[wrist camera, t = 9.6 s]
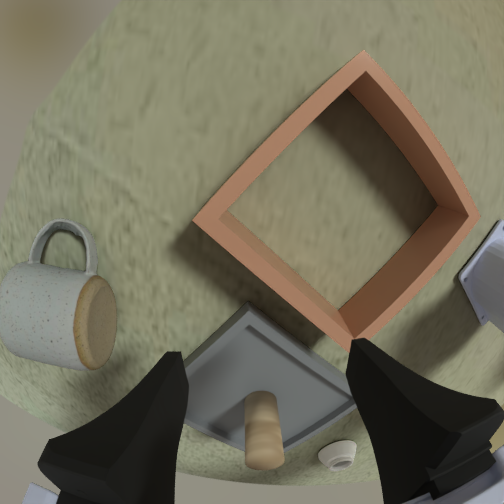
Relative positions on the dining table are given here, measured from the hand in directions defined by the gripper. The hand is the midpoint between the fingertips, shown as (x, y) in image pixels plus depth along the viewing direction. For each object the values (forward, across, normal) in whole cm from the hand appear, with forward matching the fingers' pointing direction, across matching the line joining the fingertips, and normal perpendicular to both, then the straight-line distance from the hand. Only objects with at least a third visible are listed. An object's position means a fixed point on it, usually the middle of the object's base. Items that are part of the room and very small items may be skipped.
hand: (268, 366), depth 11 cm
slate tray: (+10, 0, +13) cm, 16 cm away
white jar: (+10, -9, +25) cm, 29 cm away
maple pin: (+9, 0, +13) cm, 16 cm away
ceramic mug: (+10, +15, 0) cm, 18 cm away
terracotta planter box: (+10, -6, -5) cm, 13 cm away
